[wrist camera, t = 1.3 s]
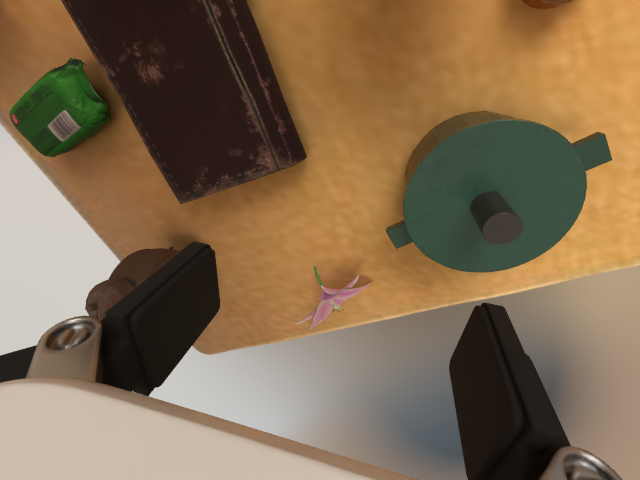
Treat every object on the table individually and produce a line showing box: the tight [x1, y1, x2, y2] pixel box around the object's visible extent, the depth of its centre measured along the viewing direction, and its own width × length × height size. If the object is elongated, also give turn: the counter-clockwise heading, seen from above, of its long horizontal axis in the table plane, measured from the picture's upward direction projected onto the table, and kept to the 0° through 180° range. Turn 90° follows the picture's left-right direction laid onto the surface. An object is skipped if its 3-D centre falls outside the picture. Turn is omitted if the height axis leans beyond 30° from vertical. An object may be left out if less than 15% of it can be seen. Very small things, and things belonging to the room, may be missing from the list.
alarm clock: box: [85, 246, 181, 321], centre depth 43 cm, size 14×7×20 cm, turn 4°
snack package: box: [10, 58, 110, 157], centre depth 39 cm, size 7×16×5 cm, turn 117°
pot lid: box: [403, 119, 587, 272], centre depth 25 cm, size 15×15×6 cm
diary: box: [61, 0, 307, 204], centre depth 33 cm, size 19×25×5 cm
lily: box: [294, 267, 372, 330], centre depth 43 cm, size 12×12×10 cm
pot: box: [386, 111, 612, 248], centre depth 31 cm, size 14×19×8 cm
